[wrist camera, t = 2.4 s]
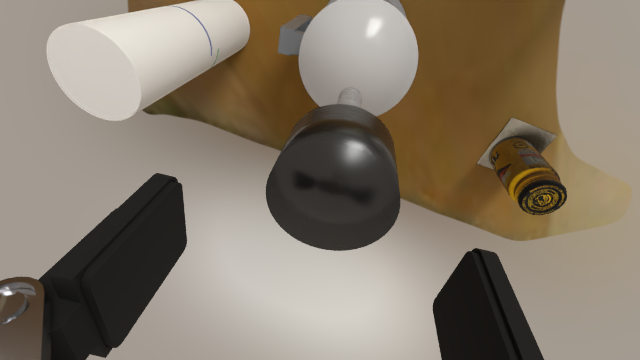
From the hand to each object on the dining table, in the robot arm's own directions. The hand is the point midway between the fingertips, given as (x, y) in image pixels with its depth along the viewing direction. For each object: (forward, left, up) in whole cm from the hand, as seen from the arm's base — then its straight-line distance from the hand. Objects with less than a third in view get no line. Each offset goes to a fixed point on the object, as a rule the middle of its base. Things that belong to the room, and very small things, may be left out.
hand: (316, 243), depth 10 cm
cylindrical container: (+19, +3, -39) cm, 43 cm away
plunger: (0, 0, -13) cm, 13 cm away
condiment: (-27, +11, -39) cm, 49 cm away
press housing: (+1, 0, -39) cm, 39 cm away
